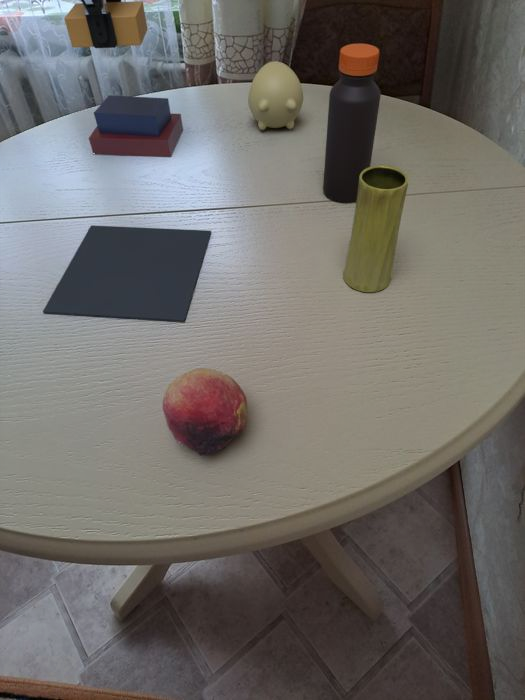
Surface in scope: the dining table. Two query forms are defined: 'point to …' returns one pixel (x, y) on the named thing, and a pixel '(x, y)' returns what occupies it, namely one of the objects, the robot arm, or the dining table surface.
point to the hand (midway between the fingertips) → (110, 36)
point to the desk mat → (132, 274)
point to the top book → (125, 23)
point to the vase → (375, 228)
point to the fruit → (205, 410)
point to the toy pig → (275, 96)
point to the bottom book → (139, 141)
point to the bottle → (351, 122)
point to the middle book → (133, 115)
